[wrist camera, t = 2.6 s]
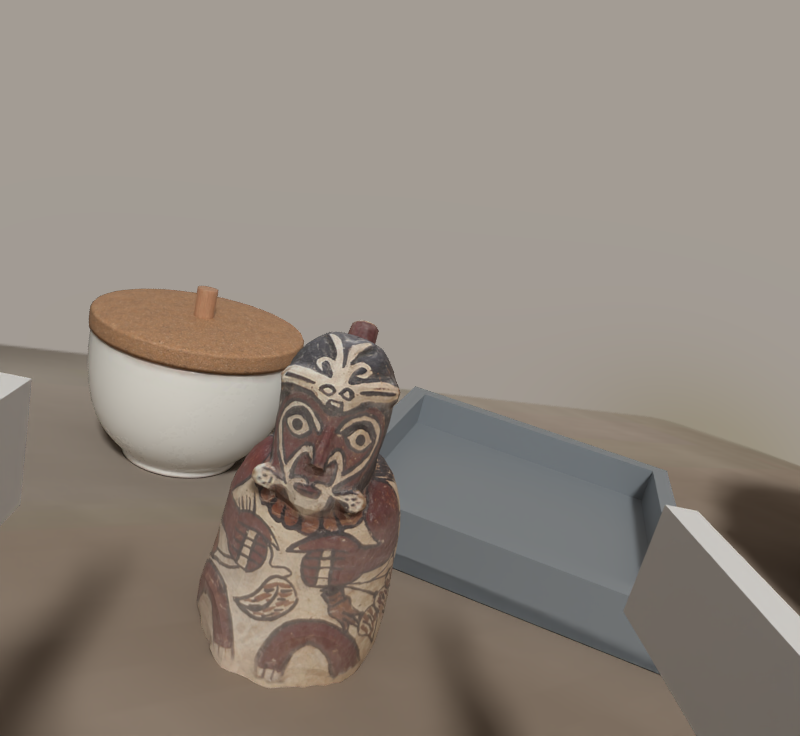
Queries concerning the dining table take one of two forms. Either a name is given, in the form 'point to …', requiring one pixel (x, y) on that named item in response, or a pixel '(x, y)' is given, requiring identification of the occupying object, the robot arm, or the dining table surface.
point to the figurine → (309, 524)
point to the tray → (523, 518)
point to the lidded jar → (186, 377)
